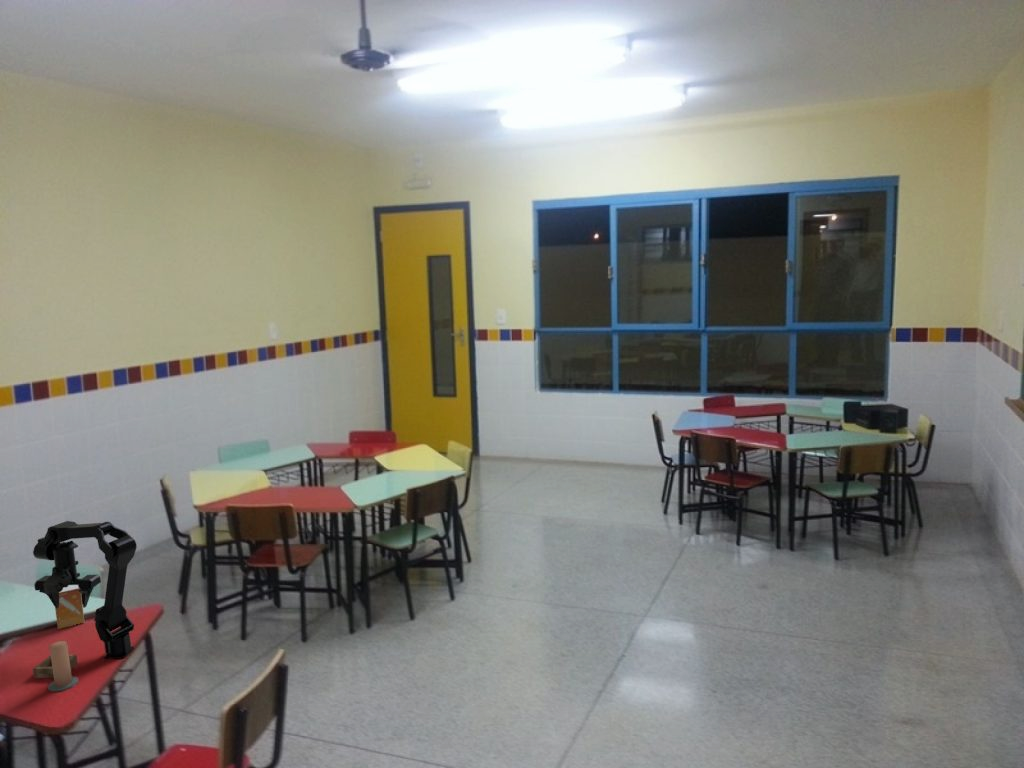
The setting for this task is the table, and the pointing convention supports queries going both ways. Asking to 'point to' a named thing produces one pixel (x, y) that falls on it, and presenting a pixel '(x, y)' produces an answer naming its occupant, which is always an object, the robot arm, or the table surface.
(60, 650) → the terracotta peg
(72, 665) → the walnut socket
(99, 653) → the table surface
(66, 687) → the charcoal coaster
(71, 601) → the small box
